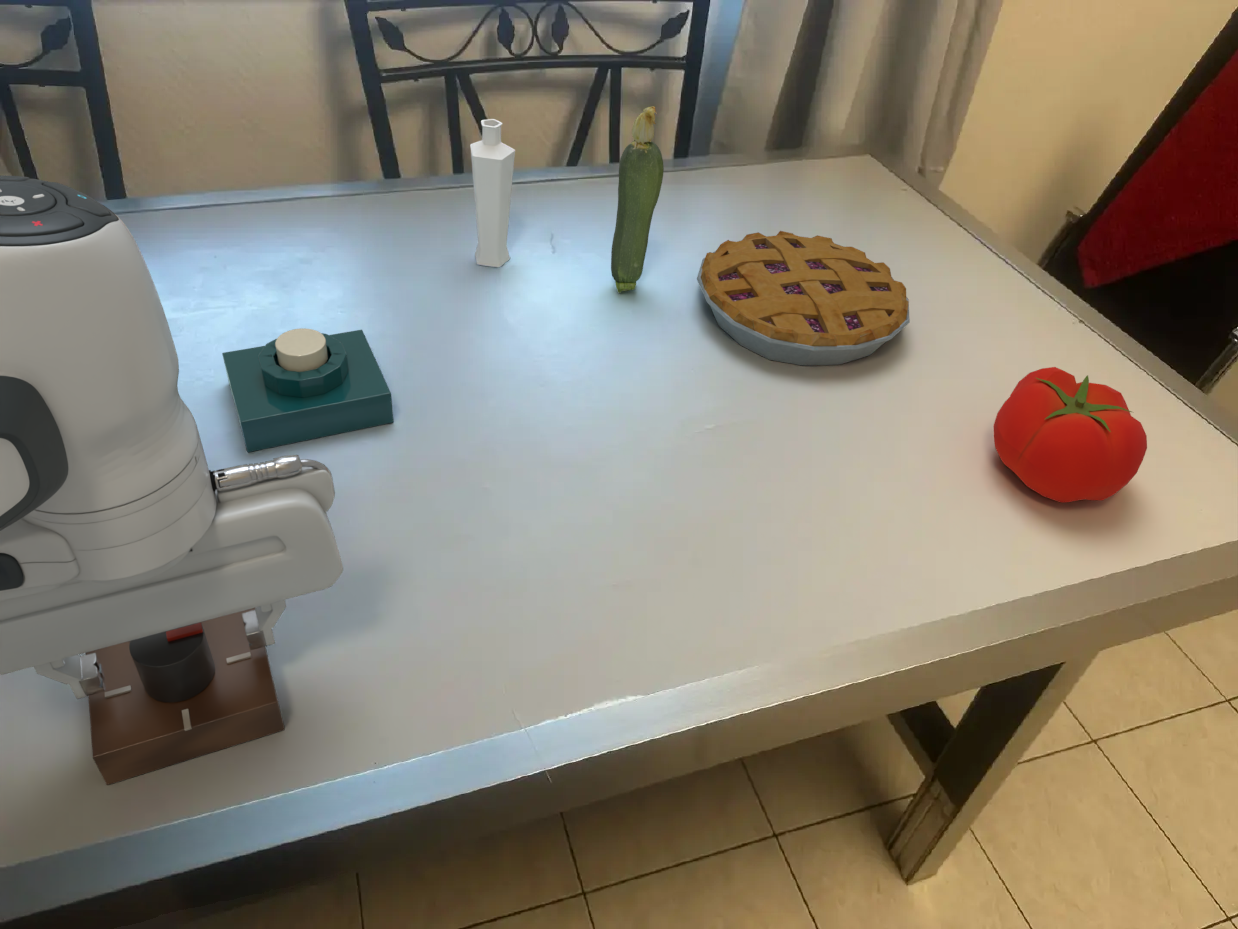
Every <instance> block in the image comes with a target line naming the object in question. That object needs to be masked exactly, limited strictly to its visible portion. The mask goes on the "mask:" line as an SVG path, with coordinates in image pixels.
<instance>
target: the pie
mask: <svg viewBox="0 0 1238 929" xmlns="http://www.w3.org/2000/svg"><path fill="white" fill-rule="evenodd" d="M696 281H697V283H698V286H699V287H700V290H701V292H702V295H703V296H704V299H705V301H706V303H707V304H708V305H709V307H710V309H711V312H712V314H713V316H714V319H715V320H716V323H717V325H718V327H720V328H721V329H722V330H723V331H724V332H725V333H726V334H727V335H729V336H730V337H731V338H732V339H733V340H734V341H735V342H736V343H737V344H739V345H740V346H741V347H743V348H745V349H747V350H749V351H751V352H752V353H754V354H757V355H759V356H761V357H762V358H765V359H766V360H769V361H775V362H781V363H787V364H792V365H797V366H826V365H827V366H830V365H831V366H833V365H842V364H846V363H849V362H853V361H856V360H859V359H862V358H865V357H869V356H871V355H872V354H873V353H875V352H876V351H877V350H879V349H880V348H881V346H883V345H884V344H885V343H886V342H888V341H890V340H893V339H894V337H896V335H898V334H899V333H900V332H901V331H902V330H903V329H904V328H906V327H907V326H908V325H909V324H910V321H911V320H910V300H909V298H908V296H907V288H906V286H905V285H904V283H903V282H902V281H898V280H895V279H894V278H893V276H892V273H891V268H890V267H889V266H888V265H887V264H886V263H885V262H882V261H881V262H874V261H873V260H871V259H870V258H868V257H867V254H866V252H864V251H862V250H861V249H858V248H856V247H853V246H843V245H840V244H837V243H835V242H834V241H833V239H832V238H831V237H827V236H823V235H818V234H817V235H815V236H811V237H809V236H799V235H797V234H794V232H788V231H783V230H779V231H778V233H777V234H775V235H764V234H762V233H760V232H758V231H757V232H753V233H749V234H746V235H745V236H744V237H743V239H742V240H738V241H734V240H729V239H727V240H725V241H724V242H721V243H720V244H719V246H717V248H716V250H714V251H713V252H711V251H710V252H706V254H705V257H703V258H702V260H701V263H700V267H699V270H698V272H697V276H696Z"/></svg>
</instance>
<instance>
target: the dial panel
mask: <svg viewBox="0 0 1238 929" xmlns="http://www.w3.org/2000/svg"><path fill="white" fill-rule="evenodd" d="M255 608H256V607H255ZM255 608H252V609H248V610H244V611H240V612H237V613H233V614H229V615H225V616H222V617H218V618H214V619H210V620H207V621H203V622H201V624H202V626H203V629H204V632H205V635H206V638H207V641H208V645H209V648H210V651H211V654H212V657H213V660H214V664H215V672H214V676H213V678H212V680H211V682H210V683H209V685H208V686H207V687H206V688H205V689H204V690H203V691H202V692H200V693H199V694H197V695H196V696H194V697H192V698H190V699H187V700H184V701H180V702H173V703H168V702H161V701H158V700H156V699H153V698H152V697H151V696H149V695H148V693H147V692H146V690H145V688H144V686H143V683H142V681H141V678H140V676H139V673H138V671H137V668H136V666H135V663H134V661H133V659H132V656H131V654H130V650H129V644H130V641H128V642H124V643H120V644H116V645H112V646H109V647H105V648H101V649H97V650H94V651H90V652H86V653H84V655H88V654H92V653H96V654H97V656H98V658H99V664H101V665H102V667H103V670H104V676H105V680H104V683H105V687H106V690H105V691H104V692H100V693H97V694H93V695H90V696H87V697H88V709H89V726H90V739H91V754H92V756H91V757H92V759H93V761H94V763H95V765H96V767H97V769H98V771H99V773H100V775H101V777H102V778H103V781H104V783H105V784H106V785H107V786H109V785H113V784H115V783H119V782H122V781H126V780H128V779H131V778H135V777H138V776H141V775H144V774H148V773H150V772H154V771H157V770H161V769H163V768H166V767H171V766H173V765H176V764H179V763H183V762H187V761H189V760H193V759H195V758H199V757H202V756H205V755H209V754H212V753H215V752H218V751H221V750H225V749H227V748H231V747H234V746H237V745H240V744H244V743H246V742H250V741H253V740H257V739H259V738H263V737H266V736H269V735H272V734H276V733H278V732H282V731H284V730H285V728H286V727H285V725H284V720H283V715H282V712H281V707H280V703H279V702H280V701H279V699H278V694H277V689H276V686H275V682H274V677H273V673H272V668H271V665H270V660H269V656H268V650H267V648H266V647H267V646H265V647H261V648H257V649H254V650H250V647H249V643H248V640H247V636H246V632H245V626H244V623H243V618H242V613H246V612H249V611H252V610H255Z"/></svg>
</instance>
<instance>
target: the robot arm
mask: <svg viewBox="0 0 1238 929" xmlns="http://www.w3.org/2000/svg"><path fill="white" fill-rule="evenodd" d="M179 363H180V362H179V356H178V352H177V349H176V346H175V343H174V339H173V335H172V330H171V329H170V325H169V322H168V319H167V316H166V313H165V308H164V307H163V304H162V301H161V298H160V295H159V293H158V290H157V287H156V285H155V282H154V280H153V277H152V275H151V272H150V269H149V267H148V264H147V262H146V260H145V258H144V255H143V254H142V251H141V250H140V247H139V245H138V243H137V240H136V239H135V237H134V236H133V234H132V233H131V231H130V229H129V228H128V227H127V225H126V224H125V223H124V221H123V220H122V219H121V218H120V217H119V215H117V214H116V213H115V212H114V211H112V210H111V209H110V208H108V207H107V206H105V205H104V204H102V203H101V202H99V201H98V200H96V199H95V198H93V197H91V196H90V195H87V194H86V193H84V192H81V191H80V190H77V189H75V188H73V187H71V186H68V185H65V184H63V183H60V182H57V181H56V182H55V181H49V180H43V179H36V178H30V177H29V176H23V175H22V176H20V175H6V174H5V175H4V174H2V175H0V676H3V675H7V674H11V673H14V672H18V671H23V670H25V669H30V668H34V670H35V672H36V674H37V675H40V676H43V677H45V678H48V679H50V680H53V681H56V682H59V683H61V684H64V685H69V687H70V688H71V691H72V692H73V694H74V697H75V699H76V700H80V699H83V698H87V697H88V696H90V695H93V694H97V693H100V692H104V691H105V690H106V687H105V683H104V680H105V676H104V670H103V667H102V665H101V664H99V658H98V656H97V654H96V653H92V654H88V655H86V654H85V653H86V652H90V651H94V650H97V649H101V648H105V647H109V646H112V645H116V644H120V643H124V642H128V641H131V640H135V639H139V638H143V637H146V636H150V635H154V634H158V633H161V632H165V631H169V630H173V629H176V628H180V627H184V626H188V625H191V624H195V623H199V622H203V621H207V620H210V619H214V618H218V617H222V616H225V615H229V614H233V613H237V612H240V611H244V610H248V609H252V608H255V607H256V608H255V610H252V611H249V612H246V613H242V618H243V623H244V626H245V632H246V636H247V640H248V643H249V647H250V650H254V649H257V648H261V647H267V646H268V647H269V646H272V645H275V644H276V641H275V636H274V633H273V629H274V627H275V626H276V624H277V623H278V621H279V620H280V618H281V616H282V614H283V613H284V611H285V610H286V608H287V604H286V600H289V599H293V598H296V597H300V596H305V595H307V594H311V593H315V592H319V591H323V590H326V589H329V588H331V587H333V585H335V584H336V582H337V581H338V580H339V579H340V577H341V575H342V574H343V572H344V565H343V561H342V557H341V554H340V550H339V547H338V544H337V539H336V537H335V533H334V530H333V527H332V525H331V522H330V518H329V516H328V513H327V512H329V510H330V509H331V507H332V506H333V503H334V500H335V498H336V497H335V496H336V491H335V485H334V478H333V474H332V471H331V470H330V468H329V467H328V466H327V465H326V464H325V463H322V462H320V461H318V460H314V459H308V458H307V459H306V458H305V459H301V458H300V456H299V454H287V455H281V456H277V457H274V458H272V459H271V460H266V461H265V462H264V461H262V462H259V463H258V462H256V463H248V464H247V463H245V464H239V465H234V466H230V467H223V468H220V469H215V470H212V471H211V469H209V466H208V462H207V458H206V454H205V450H204V447H203V443H202V440H201V436H200V431H199V429H198V424H197V421H196V419H195V418H194V415H193V414H192V411H191V410H190V408H189V407H188V405H187V404H186V403H185V401H184V400H183V399H182V397H181V395H180V393H179V386H178V385H179V384H178V383H179V374H180V365H179ZM82 654H84V655H82Z"/></svg>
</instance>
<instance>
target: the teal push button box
mask: <svg viewBox="0 0 1238 929" xmlns="http://www.w3.org/2000/svg"><path fill="white" fill-rule="evenodd" d="M320 333H321V332H320ZM321 334H323V336H324V337H325V339H326V346H327V353H328V359H327V361H326V363H325V364H324V365H322V366H320V367H319V368H317V369H313V370H308V371H302V372H297V371H289V370H286V369H284V368H282V367H281V366H280V364H279V363H278V358H277V352H276V347H275V342H276V340H277V338H275V339H272V340H271V341H269V342H267V343H265V345H261V346H255V347H250V348H249V347H248V348H244V349H237V350H231V351H225V352H222V353H221V355H222V359H223V364H224V367H225V372H226V377H227V381H228V385H229V389H230V393H231V396H232V400H233V404H234V407H235V412H236V415H237V419H238V423H239V426H240V430H241V434H242V438H243V441H244V446H245V449H246V452H247V453H251V452H256V451H261V450H266V449H271V448H275V447H276V448H277V447H280V446H285V445H290V444H295V443H301V442H306V441H310V440H314V439H315V440H316V439H319V438H325V437H329V436H333V435H334V436H335V435H339V434H344V433H349V432H353V431H358V430H359V431H360V430H363V429H369V428H372V427H377V426H382V425H383V426H384V425H388V424H392V423H395V422H394V411H393V400H392V392H391V390H390V387H389V386H388V384H387V383H388V382H387V381H386V379H385V376H384V374H383V372H382V370H381V368H380V366H379V364H378V361H377V360H376V356H375V355H374V353H373V350H372V348H371V346H370V343H369V342H368V339H367V337H366V335H365V333H364V330H363V329H356V330H351V331H345V332H339V333H333V334H332V333H331V334H328V333H323V332H322V333H321Z"/></svg>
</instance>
